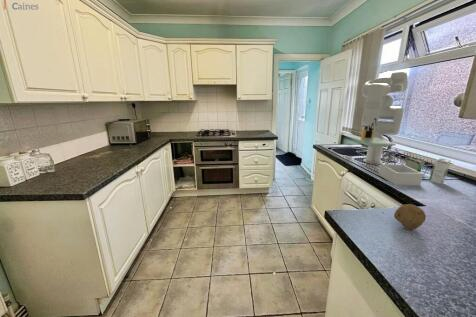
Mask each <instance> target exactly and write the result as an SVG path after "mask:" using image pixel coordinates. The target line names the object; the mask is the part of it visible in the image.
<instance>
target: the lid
mask: <svg viewBox="0 0 476 317" xmlns="http://www.w3.org/2000/svg"><path fill="white" fill-rule="evenodd" d="M366 131H367V130H364V129H362V130H361V136H358V137H356V136H353V137H351V138H352V139H353V141H356V142H358V143H360V144H363V145H364V146H366V147H368V146H383V147H390V146H396V143H395V142H391V141H389V140H387V139H384V140H383V139H380V138H373V135H374V130H373V131H372V136H371V138H366V137H365V136H366Z"/></svg>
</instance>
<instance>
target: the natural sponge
mask: <svg viewBox="0 0 476 317" xmlns="http://www.w3.org/2000/svg"><path fill="white" fill-rule="evenodd" d="M394 218H395V220H396V221H398V222H399V223H400V224H401V225H402V226H403V227H404V228H405V227H406V228H405V229H407V228H408V229H407V230H410V229H411V230H415V229H418V228H421V226H422V225H423V224H424V222H425V221H426V218H427V217H426V213H425V211H424V210H423V209H422V208H421V207H419V206H417V205H415V204H412V203H408V204H407V203H405V204H402V205H400V206H399V207H398V208H397V209H396V210H395V211H394Z"/></svg>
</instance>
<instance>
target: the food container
mask: <svg viewBox="0 0 476 317" xmlns="http://www.w3.org/2000/svg"><path fill="white" fill-rule="evenodd" d="M425 162H426V161H425V160H424V159H422V158H418V157H412V156H406V158H405V164H404V165H406V166H408V167H410V168H412V169H414V170H416V171H419V172H421V170H422V169H423V167H424V165H426V164H425ZM421 173H422V172H421Z"/></svg>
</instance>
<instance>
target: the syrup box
mask: <svg viewBox="0 0 476 317" xmlns="http://www.w3.org/2000/svg"><path fill="white" fill-rule="evenodd" d="M451 161H452V160H451V159H446V158H441V157H438V158H436V159H434V162H433V166H432V168H431V172H430V175H429V178H428V182H430V183H431V182H432V183H436V184H440V185H442V184H444V182H445V180H446V177H447V175H448V174H447V173H448V171H449V168H450V164H451Z"/></svg>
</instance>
